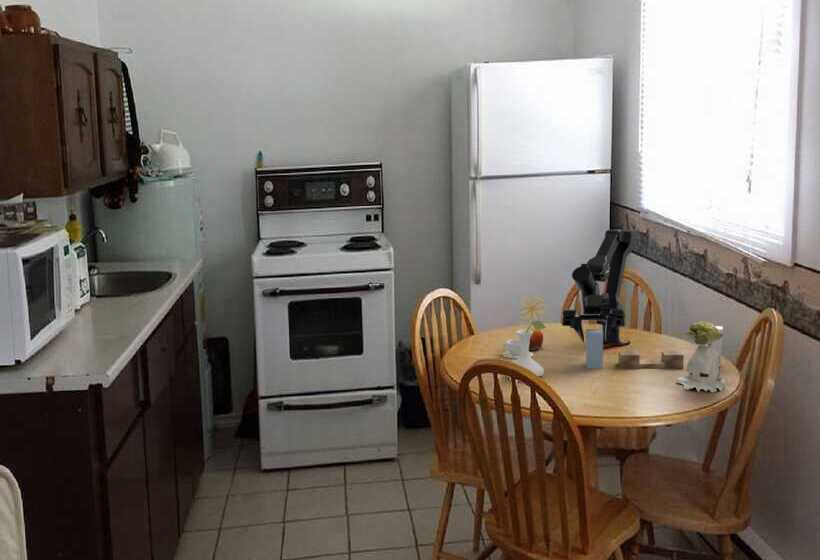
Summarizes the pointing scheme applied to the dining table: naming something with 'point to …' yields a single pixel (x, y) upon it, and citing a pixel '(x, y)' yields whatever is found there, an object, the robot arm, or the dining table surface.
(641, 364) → the slotted plank
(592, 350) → the blue block
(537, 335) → the fruit
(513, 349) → the teacup
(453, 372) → the dining table surface
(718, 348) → the skincare box
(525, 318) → the flower in vase
